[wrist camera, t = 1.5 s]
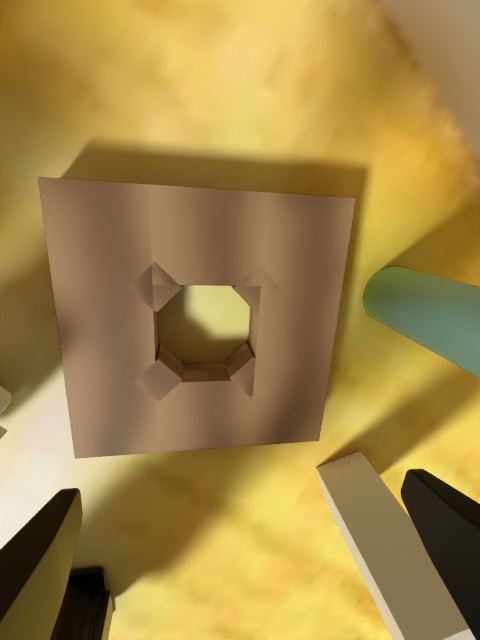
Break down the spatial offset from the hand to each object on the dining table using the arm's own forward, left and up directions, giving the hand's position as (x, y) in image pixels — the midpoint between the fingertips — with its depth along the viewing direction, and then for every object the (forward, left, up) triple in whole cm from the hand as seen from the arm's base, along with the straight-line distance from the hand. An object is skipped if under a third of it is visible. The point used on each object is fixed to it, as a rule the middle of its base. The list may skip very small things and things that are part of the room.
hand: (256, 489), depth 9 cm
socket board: (-1, 0, -14) cm, 14 cm away
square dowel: (+11, -14, -14) cm, 22 cm away
